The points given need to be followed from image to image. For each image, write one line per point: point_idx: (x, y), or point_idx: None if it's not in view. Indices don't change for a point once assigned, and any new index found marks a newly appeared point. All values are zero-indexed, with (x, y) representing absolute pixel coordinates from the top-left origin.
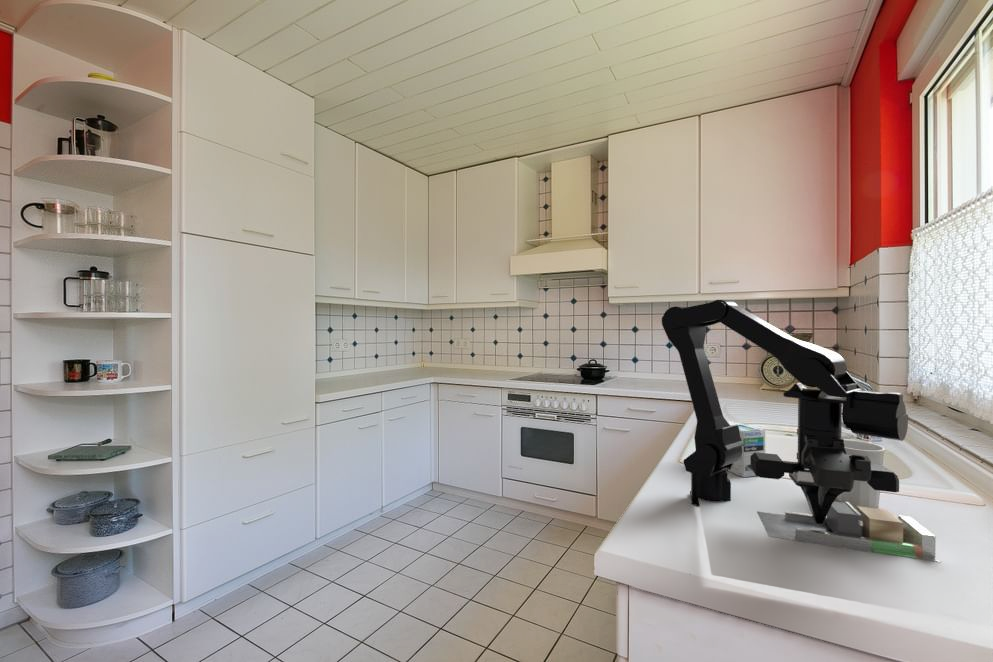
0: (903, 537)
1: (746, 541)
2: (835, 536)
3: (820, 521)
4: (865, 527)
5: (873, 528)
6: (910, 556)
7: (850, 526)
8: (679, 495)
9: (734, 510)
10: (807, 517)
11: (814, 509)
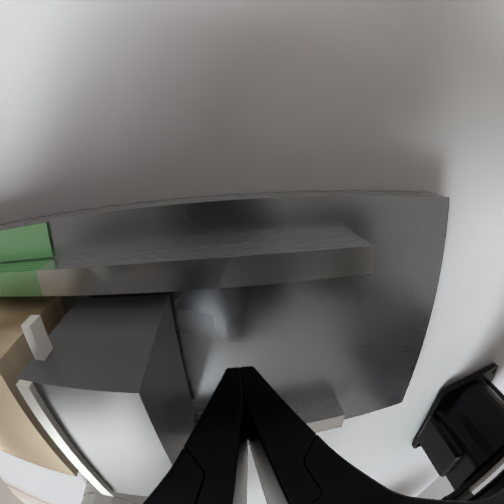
0: None
1: (476, 188)
2: (183, 258)
3: (236, 374)
4: None
5: (11, 333)
6: None
7: (94, 336)
8: None
9: (425, 398)
10: None
11: (284, 415)
